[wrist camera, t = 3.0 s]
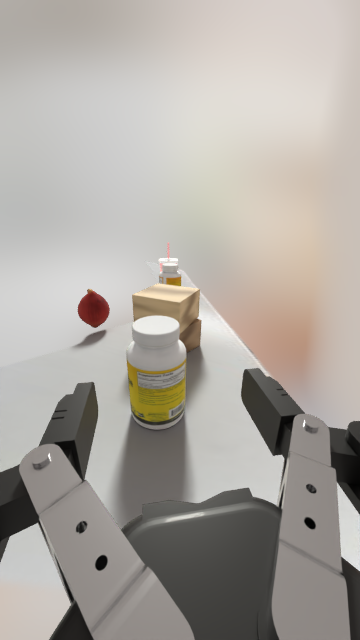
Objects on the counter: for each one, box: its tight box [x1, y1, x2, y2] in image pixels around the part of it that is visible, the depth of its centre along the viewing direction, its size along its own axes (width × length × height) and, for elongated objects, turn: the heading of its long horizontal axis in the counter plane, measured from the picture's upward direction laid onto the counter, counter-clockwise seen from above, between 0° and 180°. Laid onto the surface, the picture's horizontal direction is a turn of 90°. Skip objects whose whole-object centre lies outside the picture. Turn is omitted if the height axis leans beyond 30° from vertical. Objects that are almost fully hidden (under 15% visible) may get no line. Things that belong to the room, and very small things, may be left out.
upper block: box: [132, 283, 200, 333], centre depth 39 cm, size 8×8×5 cm
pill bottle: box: [127, 316, 186, 430], centre depth 26 cm, size 6×6×11 cm
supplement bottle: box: [159, 263, 181, 286], centre depth 61 cm, size 6×6×10 cm
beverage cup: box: [159, 242, 178, 272], centre depth 75 cm, size 6×6×14 cm
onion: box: [78, 289, 109, 328], centre depth 47 cm, size 6×6×8 cm
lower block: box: [179, 319, 201, 353], centre depth 41 cm, size 8×8×5 cm
